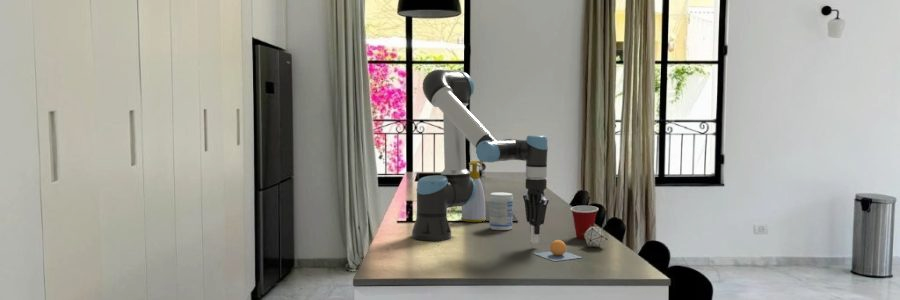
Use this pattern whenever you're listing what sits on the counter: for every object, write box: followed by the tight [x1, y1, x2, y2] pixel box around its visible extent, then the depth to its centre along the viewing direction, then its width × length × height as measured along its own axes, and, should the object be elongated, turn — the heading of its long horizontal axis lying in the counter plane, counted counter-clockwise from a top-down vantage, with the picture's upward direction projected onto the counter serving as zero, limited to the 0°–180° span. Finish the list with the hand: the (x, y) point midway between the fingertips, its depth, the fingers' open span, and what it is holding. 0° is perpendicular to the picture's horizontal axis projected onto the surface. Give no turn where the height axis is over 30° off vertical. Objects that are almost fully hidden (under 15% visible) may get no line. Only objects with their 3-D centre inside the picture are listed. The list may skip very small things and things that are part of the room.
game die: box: [582, 225, 609, 249], centre depth 249 cm, size 9×8×10 cm
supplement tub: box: [489, 191, 514, 231], centre depth 281 cm, size 10×10×15 cm
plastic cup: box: [570, 205, 599, 240], centre depth 265 cm, size 11×11×12 cm
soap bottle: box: [460, 160, 487, 223], centre depth 299 cm, size 11×12×26 cm
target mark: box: [532, 251, 583, 262], centre depth 234 cm, size 12×12×1 cm
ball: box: [549, 239, 567, 256], centre depth 234 cm, size 6×6×6 cm
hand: (534, 242), depth 246 cm, fingers closed
